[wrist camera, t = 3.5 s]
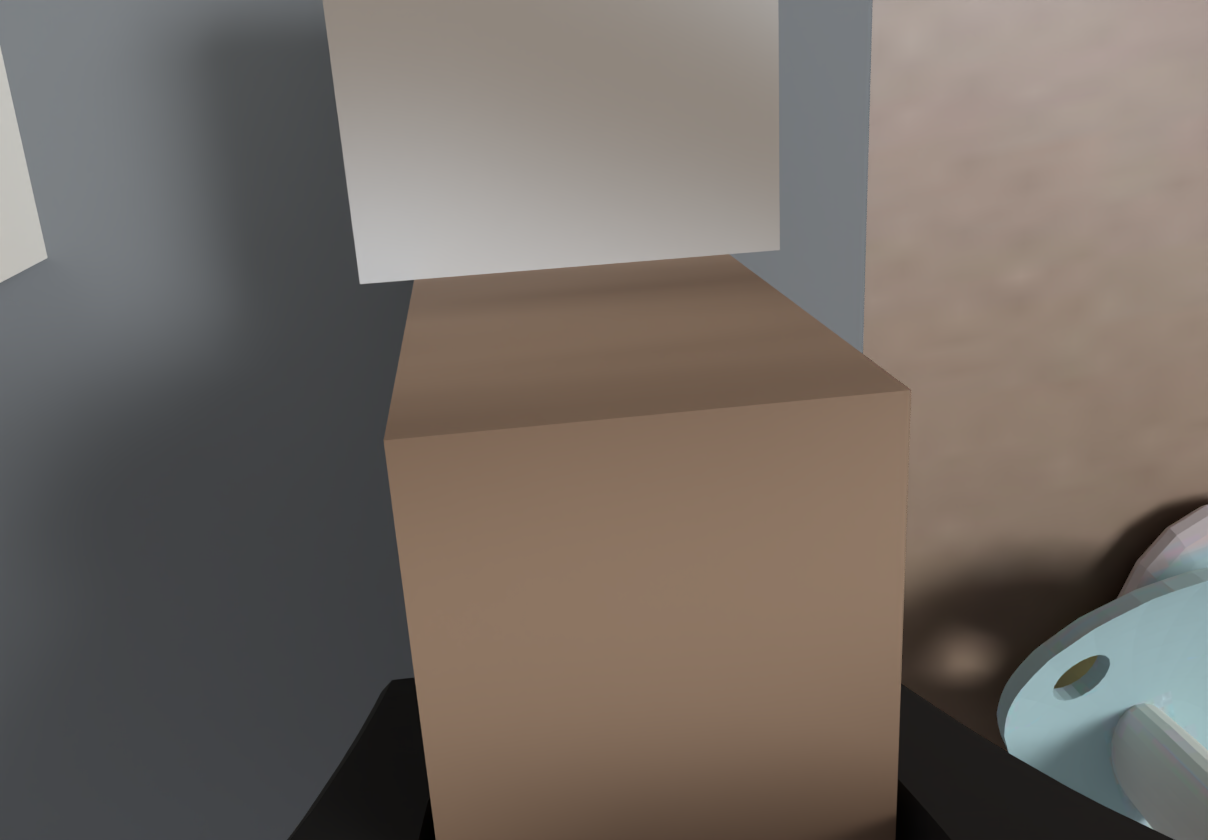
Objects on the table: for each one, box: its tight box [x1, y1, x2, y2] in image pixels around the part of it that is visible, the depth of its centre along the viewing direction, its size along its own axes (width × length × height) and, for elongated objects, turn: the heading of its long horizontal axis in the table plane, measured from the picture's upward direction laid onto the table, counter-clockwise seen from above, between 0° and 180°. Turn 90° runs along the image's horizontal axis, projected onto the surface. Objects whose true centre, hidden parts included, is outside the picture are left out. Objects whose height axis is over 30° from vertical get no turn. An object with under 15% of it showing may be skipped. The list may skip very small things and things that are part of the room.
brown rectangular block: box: [323, 0, 911, 840], centre depth 9 cm, size 12×4×5 cm, turn 3°
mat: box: [0, 0, 872, 840], centre depth 11 cm, size 24×17×1 cm
